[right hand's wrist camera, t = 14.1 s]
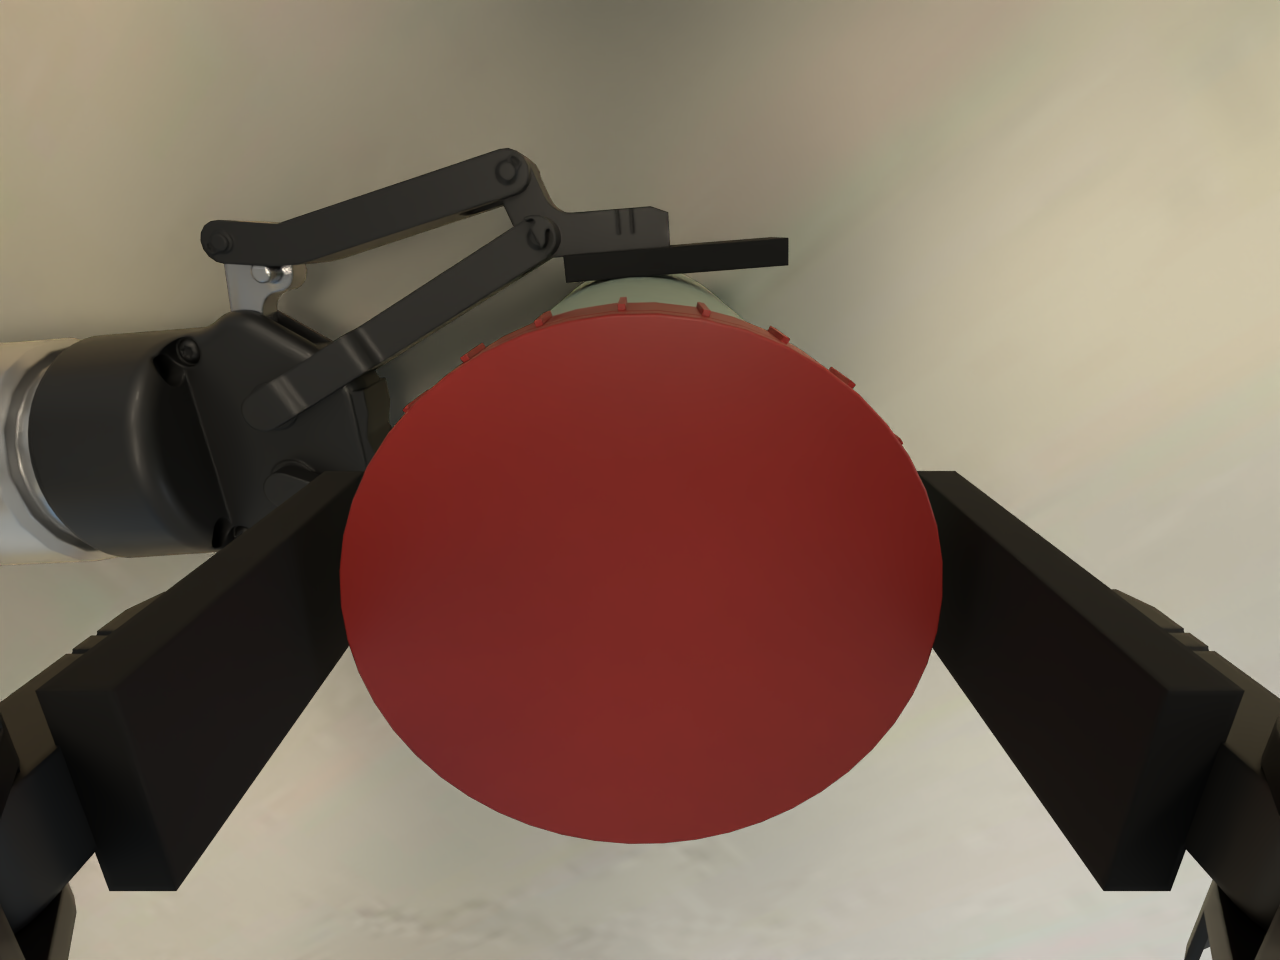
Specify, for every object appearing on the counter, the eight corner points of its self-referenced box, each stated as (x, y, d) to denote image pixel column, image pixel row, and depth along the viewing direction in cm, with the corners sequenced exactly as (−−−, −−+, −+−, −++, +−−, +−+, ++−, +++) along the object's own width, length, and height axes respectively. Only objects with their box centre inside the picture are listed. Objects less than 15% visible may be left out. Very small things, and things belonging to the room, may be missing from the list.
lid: (708, 847, 14) (716, 920, 13) (287, 639, 12) (239, 695, 11) (1024, 497, 11) (1081, 538, 10) (541, 168, 10) (523, 156, 8)
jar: (670, 507, 30) (709, 881, 13) (499, 405, 29) (279, 673, 11) (787, 343, 28) (1034, 529, 10) (607, 220, 26) (539, 196, 9)
